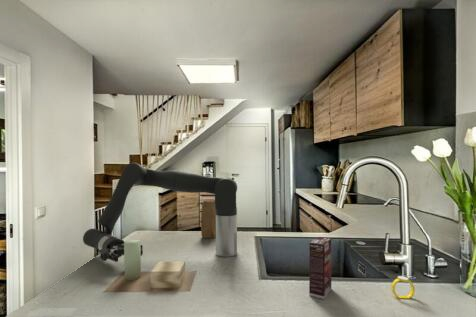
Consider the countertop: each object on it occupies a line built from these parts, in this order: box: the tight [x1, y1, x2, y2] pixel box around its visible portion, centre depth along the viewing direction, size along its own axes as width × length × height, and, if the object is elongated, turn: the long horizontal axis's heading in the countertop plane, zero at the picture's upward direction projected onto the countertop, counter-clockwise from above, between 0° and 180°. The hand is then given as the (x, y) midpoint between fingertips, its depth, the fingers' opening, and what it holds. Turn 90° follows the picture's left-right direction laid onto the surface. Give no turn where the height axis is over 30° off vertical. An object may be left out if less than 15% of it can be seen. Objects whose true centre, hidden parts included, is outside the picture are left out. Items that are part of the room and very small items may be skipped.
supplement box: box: [308, 236, 332, 300], centre depth 87 cm, size 9×5×16 cm, turn 148°
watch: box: [390, 275, 416, 300], centre depth 83 cm, size 6×3×6 cm, turn 84°
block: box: [200, 198, 216, 239], centre depth 154 cm, size 11×8×20 cm
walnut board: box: [103, 270, 197, 293], centre depth 93 cm, size 26×16×1 cm, turn 91°
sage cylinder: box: [123, 239, 142, 280], centre depth 96 cm, size 5×5×12 cm
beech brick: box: [150, 260, 186, 288], centre depth 92 cm, size 9×9×5 cm
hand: (129, 255), depth 98 cm, fingers open, 8 cm apart
